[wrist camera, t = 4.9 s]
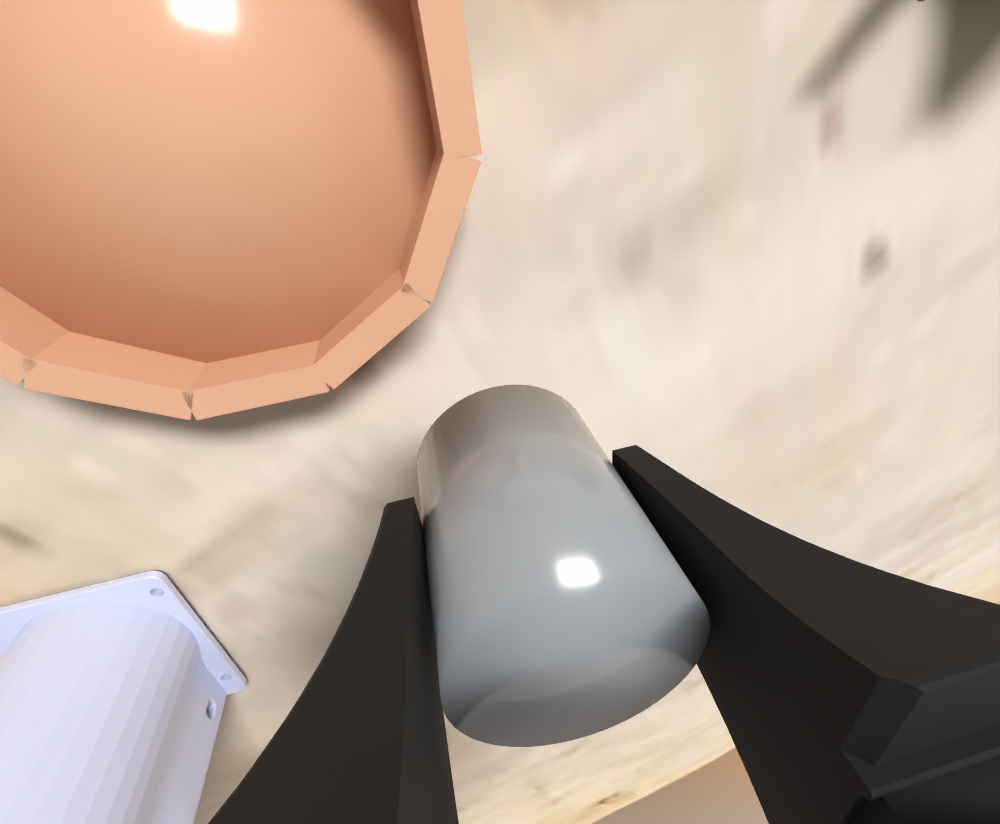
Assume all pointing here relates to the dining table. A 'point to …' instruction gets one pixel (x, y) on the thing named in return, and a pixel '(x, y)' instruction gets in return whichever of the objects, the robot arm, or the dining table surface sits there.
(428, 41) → the bowl
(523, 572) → the grey cylinder
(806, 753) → the robot arm
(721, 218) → the dining table surface
